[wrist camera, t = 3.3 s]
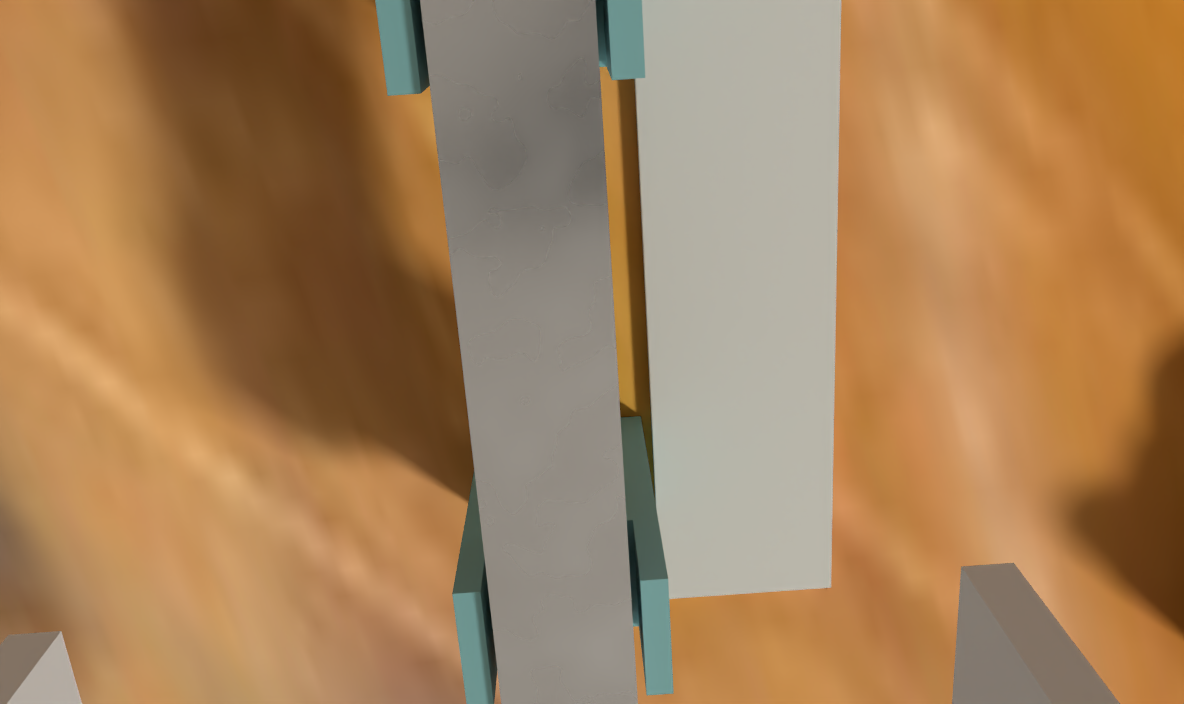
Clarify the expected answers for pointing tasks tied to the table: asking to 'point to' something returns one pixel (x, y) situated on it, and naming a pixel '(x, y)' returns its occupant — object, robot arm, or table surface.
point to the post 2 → (644, 581)
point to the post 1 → (408, 50)
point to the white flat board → (741, 287)
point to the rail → (537, 337)
